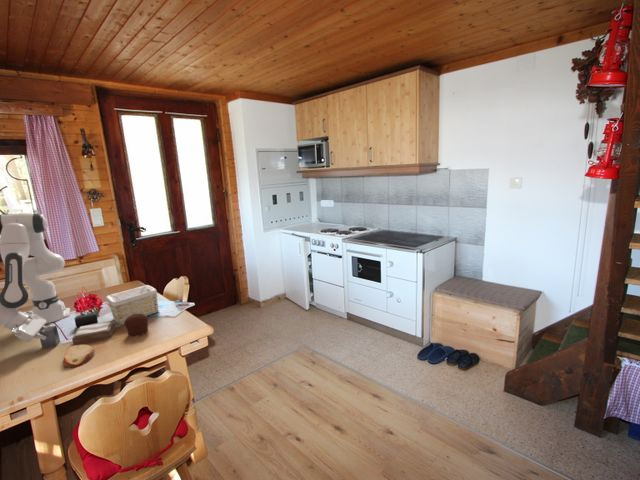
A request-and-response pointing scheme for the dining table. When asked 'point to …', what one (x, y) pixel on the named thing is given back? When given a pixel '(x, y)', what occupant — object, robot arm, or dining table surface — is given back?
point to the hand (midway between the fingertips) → (48, 335)
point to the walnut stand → (93, 332)
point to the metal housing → (50, 337)
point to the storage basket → (133, 303)
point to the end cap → (86, 319)
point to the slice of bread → (78, 355)
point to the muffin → (136, 324)
